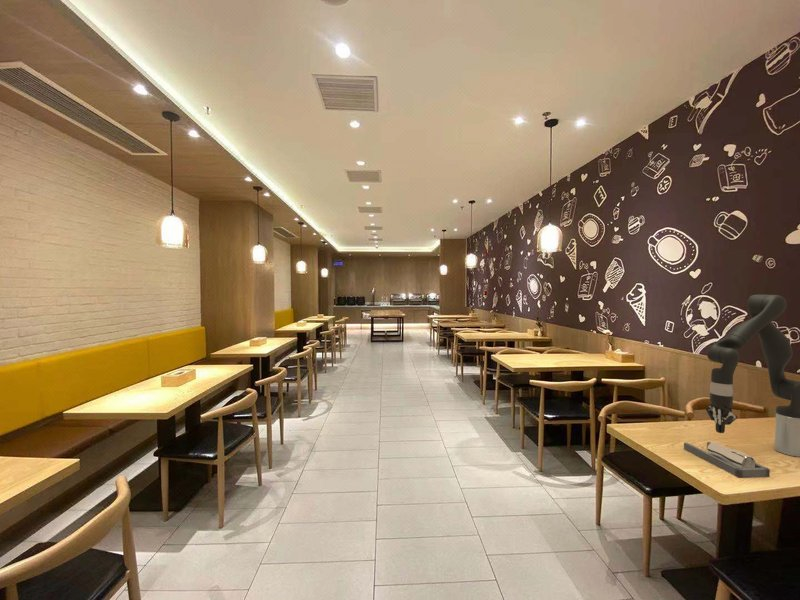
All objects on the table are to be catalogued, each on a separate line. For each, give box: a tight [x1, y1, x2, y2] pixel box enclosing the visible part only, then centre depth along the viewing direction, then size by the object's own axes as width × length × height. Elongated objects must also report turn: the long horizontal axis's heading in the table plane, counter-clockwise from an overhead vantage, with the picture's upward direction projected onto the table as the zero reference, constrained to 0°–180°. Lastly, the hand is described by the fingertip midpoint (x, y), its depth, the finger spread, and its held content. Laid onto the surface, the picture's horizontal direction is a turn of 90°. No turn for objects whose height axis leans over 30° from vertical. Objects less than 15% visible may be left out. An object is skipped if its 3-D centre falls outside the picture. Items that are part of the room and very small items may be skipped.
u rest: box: [683, 441, 771, 479], centre depth 155 cm, size 13×26×3 cm, turn 4°
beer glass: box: [706, 441, 757, 468], centre depth 154 cm, size 7×7×15 cm
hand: (719, 432), depth 157 cm, fingers closed
